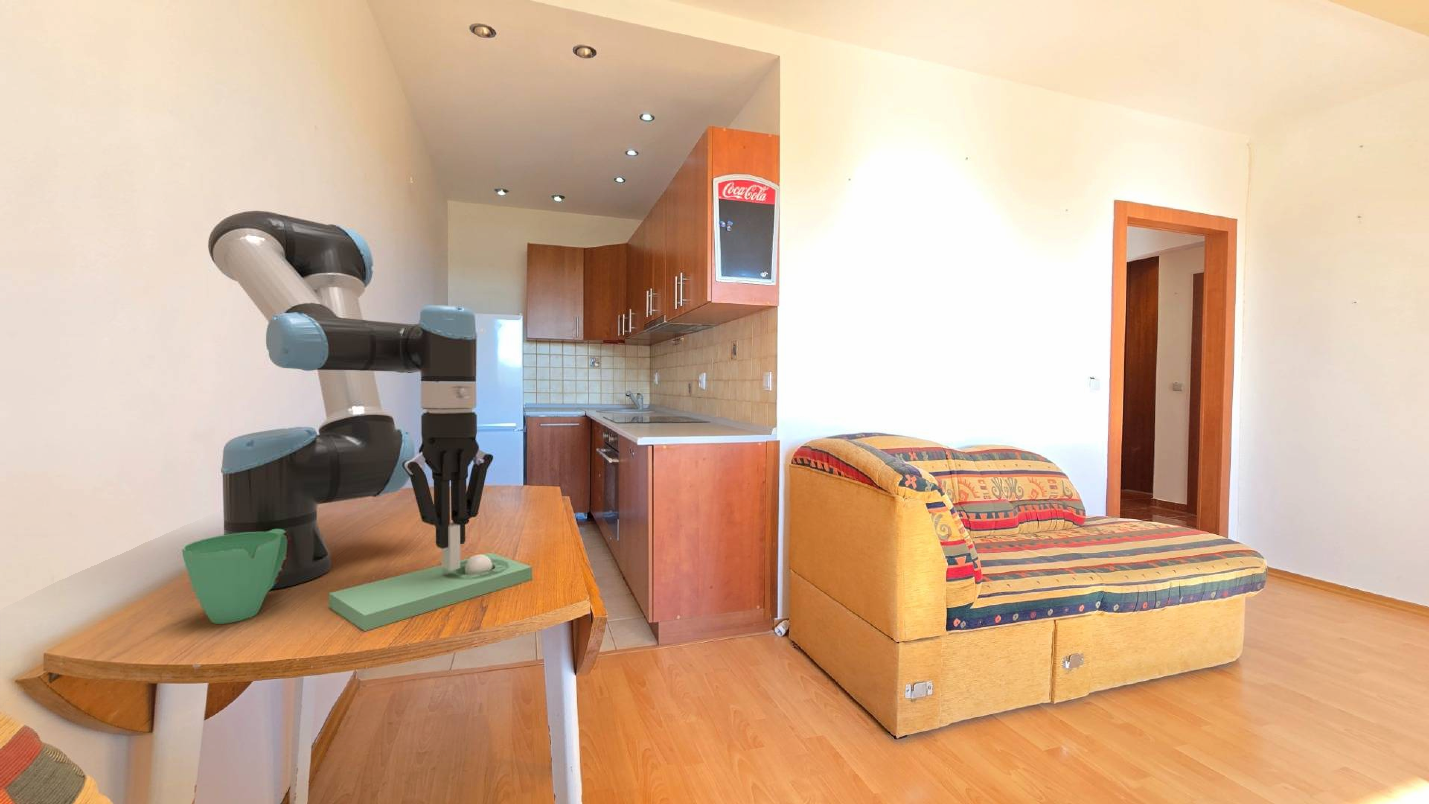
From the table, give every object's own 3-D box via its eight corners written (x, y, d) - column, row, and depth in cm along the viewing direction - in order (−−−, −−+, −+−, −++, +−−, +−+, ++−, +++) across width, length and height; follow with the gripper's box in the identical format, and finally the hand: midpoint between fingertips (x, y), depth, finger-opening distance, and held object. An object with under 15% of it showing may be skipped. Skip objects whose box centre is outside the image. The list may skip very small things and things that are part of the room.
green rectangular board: (364, 631, 70) (364, 615, 70) (329, 607, 77) (328, 593, 77) (532, 579, 89) (531, 566, 89) (490, 564, 96) (490, 552, 96)
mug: (248, 630, 70) (246, 551, 70) (162, 633, 69) (160, 553, 69) (318, 588, 85) (317, 522, 84) (248, 590, 84) (247, 523, 83)
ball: (457, 578, 88) (464, 552, 89) (480, 581, 90) (486, 556, 92) (470, 579, 85) (477, 552, 87) (493, 583, 88) (500, 556, 89)
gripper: (415, 413, 77) (417, 585, 77) (503, 410, 87) (504, 561, 87) (392, 411, 81) (394, 573, 82) (477, 408, 91) (479, 552, 92)
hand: (451, 567), depth 85 cm, fingers closed
